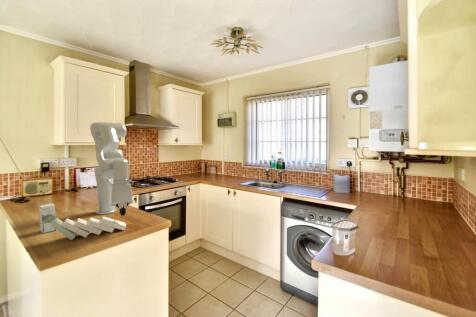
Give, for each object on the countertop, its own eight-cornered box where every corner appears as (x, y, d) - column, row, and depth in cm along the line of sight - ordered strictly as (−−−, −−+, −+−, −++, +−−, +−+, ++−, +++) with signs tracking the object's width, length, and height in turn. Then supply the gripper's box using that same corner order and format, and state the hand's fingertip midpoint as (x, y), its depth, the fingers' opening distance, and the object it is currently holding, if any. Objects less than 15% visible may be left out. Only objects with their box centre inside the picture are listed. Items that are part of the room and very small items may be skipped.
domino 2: (101, 227, 124) (78, 218, 118) (101, 230, 119) (77, 221, 113) (98, 231, 123) (75, 222, 117) (98, 235, 118) (74, 226, 112)
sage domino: (76, 232, 118) (56, 217, 113) (75, 236, 113) (55, 220, 108) (72, 236, 117) (52, 221, 112) (71, 240, 112) (50, 224, 107)
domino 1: (89, 229, 121) (67, 218, 115) (89, 233, 116) (65, 221, 110) (86, 233, 120) (63, 222, 115) (85, 237, 115) (61, 226, 110)
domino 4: (125, 222, 130) (102, 216, 124) (126, 226, 125) (103, 219, 119) (123, 226, 129) (100, 220, 123) (124, 230, 124) (100, 224, 118)
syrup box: (53, 227, 128) (51, 202, 126) (56, 230, 124) (54, 204, 123) (40, 231, 123) (38, 204, 122) (42, 234, 119) (40, 206, 118)
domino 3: (113, 224, 127) (90, 217, 121) (114, 228, 122) (90, 220, 116) (111, 229, 126) (88, 221, 120) (111, 232, 121) (87, 225, 115)
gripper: (135, 179, 132) (136, 211, 133) (105, 182, 124) (106, 215, 125) (137, 181, 125) (138, 214, 127) (105, 184, 117) (107, 219, 119)
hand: (122, 215), depth 126 cm, fingers closed
